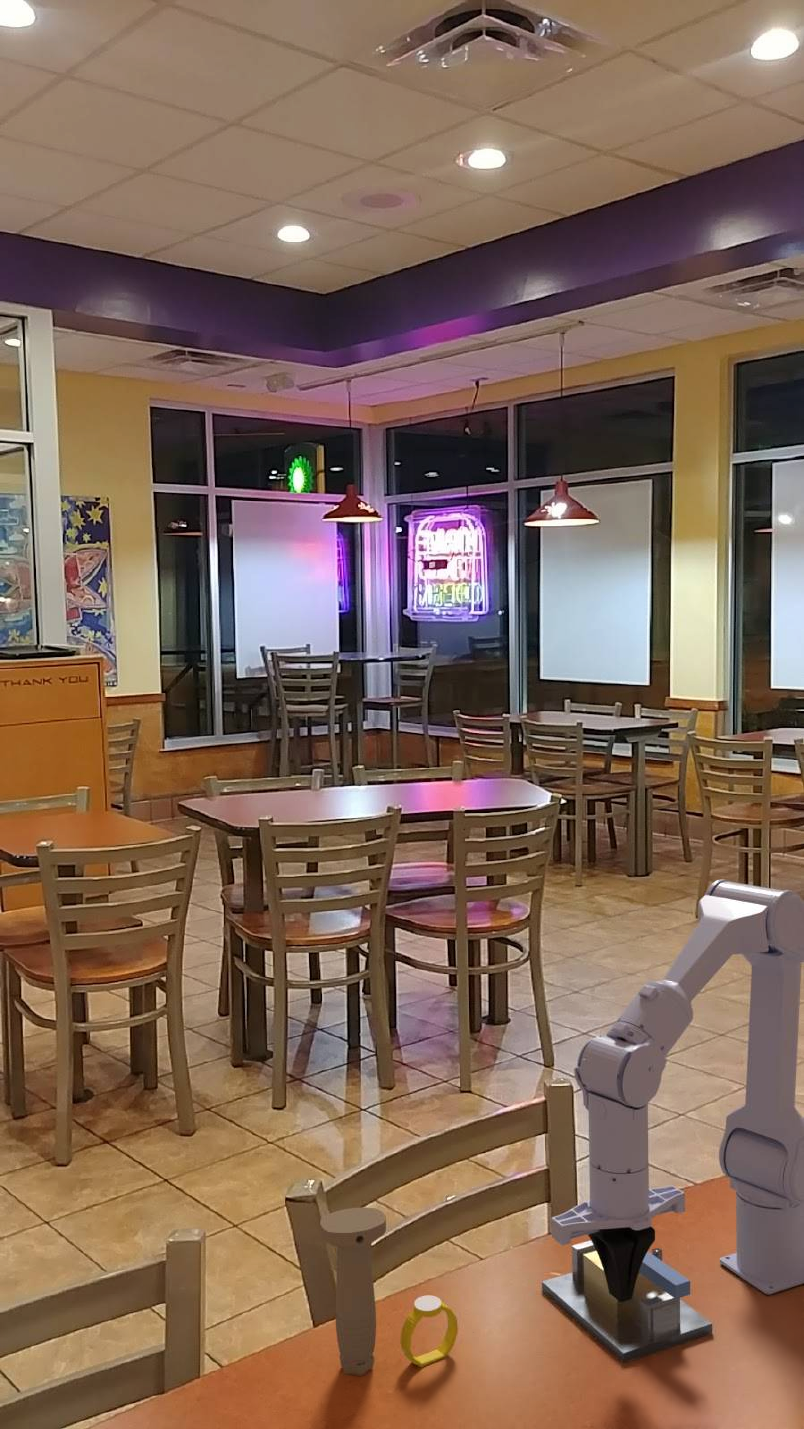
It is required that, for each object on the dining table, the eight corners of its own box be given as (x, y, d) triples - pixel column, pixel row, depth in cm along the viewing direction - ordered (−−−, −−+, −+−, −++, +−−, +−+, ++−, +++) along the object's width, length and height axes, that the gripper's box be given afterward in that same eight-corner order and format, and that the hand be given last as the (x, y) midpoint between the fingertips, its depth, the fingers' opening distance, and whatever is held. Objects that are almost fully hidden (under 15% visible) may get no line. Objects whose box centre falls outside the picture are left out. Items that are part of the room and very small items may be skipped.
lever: (606, 1255, 129) (605, 1237, 129) (625, 1249, 130) (625, 1231, 130) (672, 1304, 119) (672, 1284, 119) (693, 1296, 120) (693, 1277, 120)
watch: (413, 1379, 118) (408, 1321, 118) (398, 1364, 121) (393, 1308, 120) (464, 1354, 121) (459, 1297, 121) (448, 1340, 124) (443, 1285, 123)
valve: (625, 1265, 138) (624, 1203, 137) (712, 1332, 124) (711, 1264, 124) (542, 1290, 133) (540, 1226, 132) (623, 1362, 119) (622, 1292, 119)
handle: (395, 1374, 118) (391, 1225, 117) (331, 1388, 116) (327, 1237, 115) (381, 1347, 123) (377, 1203, 122) (319, 1360, 121) (315, 1214, 120)
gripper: (579, 1193, 112) (581, 1336, 113) (704, 1161, 118) (705, 1296, 119) (538, 1164, 118) (540, 1299, 119) (659, 1135, 124) (660, 1263, 125)
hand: (620, 1295), depth 119 cm, fingers closed
